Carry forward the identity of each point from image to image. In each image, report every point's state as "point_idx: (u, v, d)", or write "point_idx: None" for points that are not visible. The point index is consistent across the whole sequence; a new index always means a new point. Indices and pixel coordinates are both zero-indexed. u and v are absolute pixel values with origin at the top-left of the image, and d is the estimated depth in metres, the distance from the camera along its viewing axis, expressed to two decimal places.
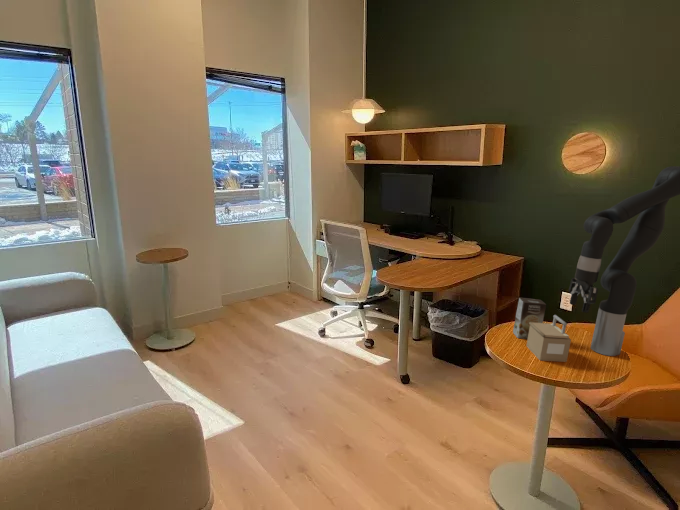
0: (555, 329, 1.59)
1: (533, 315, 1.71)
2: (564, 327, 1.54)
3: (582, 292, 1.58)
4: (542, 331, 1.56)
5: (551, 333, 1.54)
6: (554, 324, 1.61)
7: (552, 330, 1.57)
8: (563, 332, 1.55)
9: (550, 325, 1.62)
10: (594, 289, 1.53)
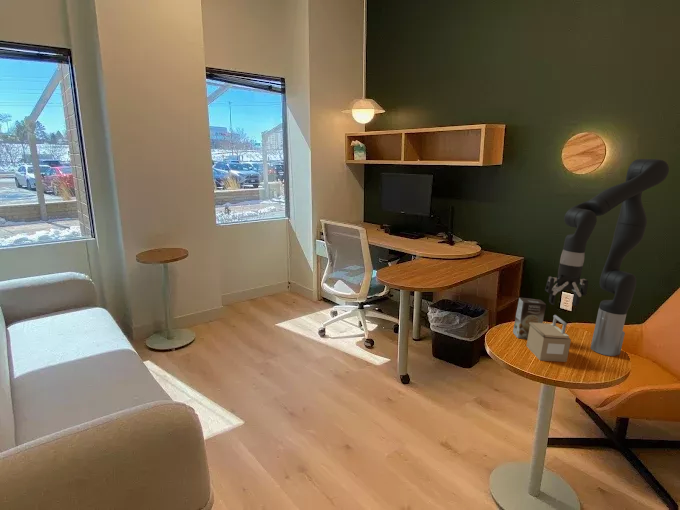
0: (555, 329, 1.59)
1: (533, 315, 1.71)
2: (564, 327, 1.54)
3: (576, 288, 1.53)
4: (542, 331, 1.56)
5: (551, 333, 1.54)
6: (554, 324, 1.61)
7: (552, 330, 1.57)
8: (563, 332, 1.55)
9: (550, 325, 1.62)
10: None
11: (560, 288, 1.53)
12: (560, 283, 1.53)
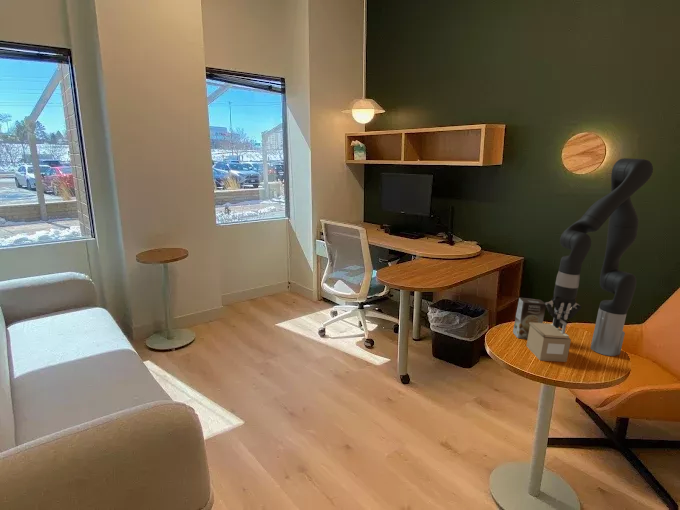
0: (555, 329, 1.59)
1: (533, 315, 1.71)
2: (564, 327, 1.54)
3: (568, 310, 1.55)
4: (542, 331, 1.56)
5: (551, 333, 1.54)
6: None
7: (552, 330, 1.57)
8: (563, 332, 1.55)
9: (550, 325, 1.62)
10: None
11: (560, 311, 1.55)
12: (557, 306, 1.55)
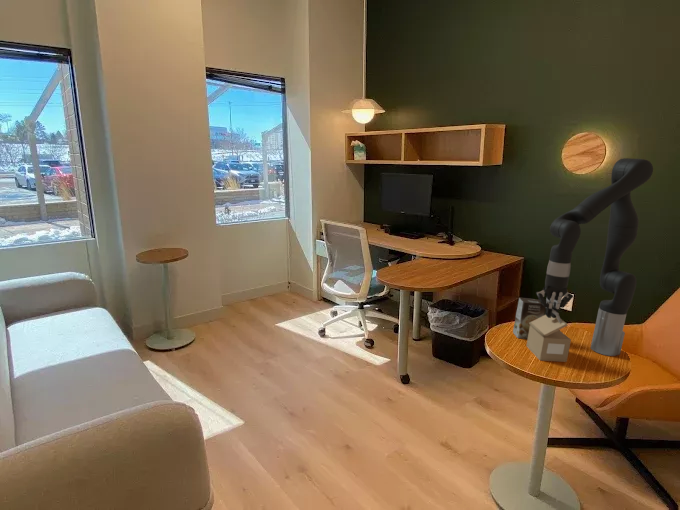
0: (553, 320, 1.58)
1: (533, 315, 1.71)
2: (558, 317, 1.53)
3: (559, 299, 1.54)
4: (541, 330, 1.56)
5: (550, 328, 1.54)
6: None
7: (550, 323, 1.57)
8: (560, 321, 1.54)
9: None
10: None
11: (552, 300, 1.54)
12: (549, 296, 1.54)
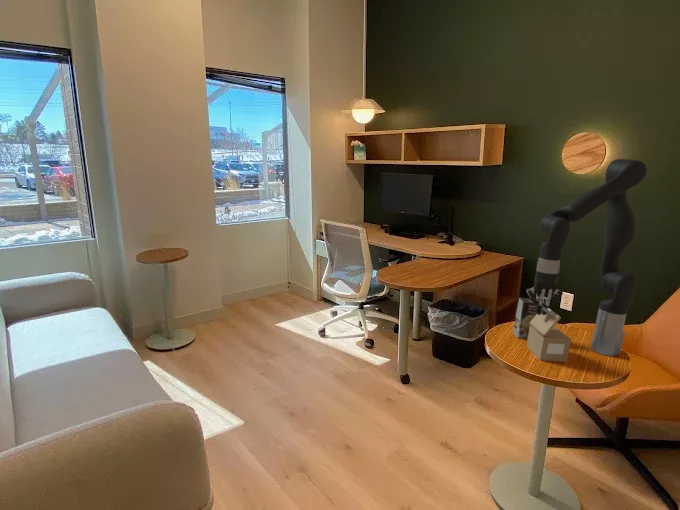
0: (548, 314, 1.57)
1: (533, 315, 1.71)
2: (549, 312, 1.53)
3: (549, 296, 1.54)
4: (540, 330, 1.56)
5: (547, 326, 1.54)
6: None
7: (546, 319, 1.56)
8: (553, 315, 1.53)
9: None
10: None
11: (541, 297, 1.54)
12: (538, 293, 1.54)
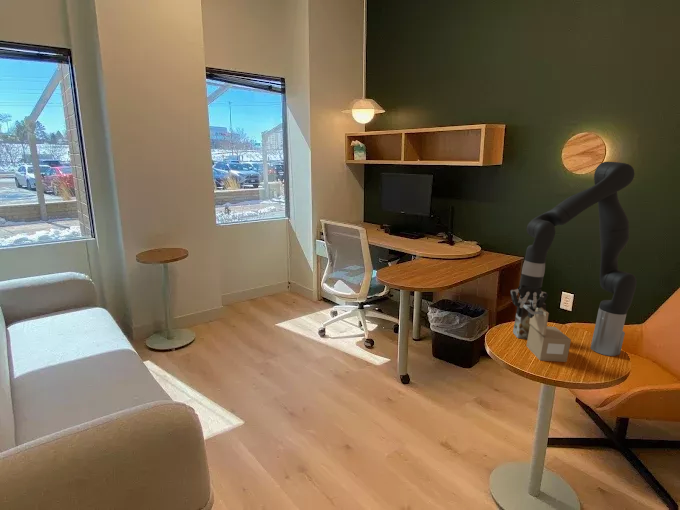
0: (538, 312, 1.57)
1: None
2: (536, 313, 1.53)
3: (535, 299, 1.54)
4: (539, 330, 1.56)
5: (542, 325, 1.54)
6: None
7: (539, 317, 1.56)
8: (541, 313, 1.53)
9: None
10: None
11: (524, 300, 1.54)
12: (522, 295, 1.55)
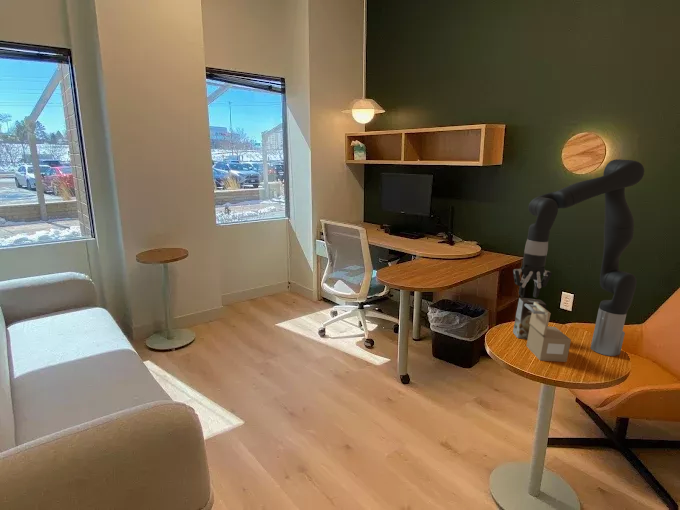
0: None
1: None
2: (538, 312, 1.53)
3: (538, 278, 1.52)
4: (539, 330, 1.56)
5: (543, 325, 1.54)
6: (534, 306, 1.60)
7: (540, 317, 1.56)
8: (543, 313, 1.53)
9: (535, 308, 1.61)
10: None
11: (527, 279, 1.52)
12: (525, 274, 1.53)
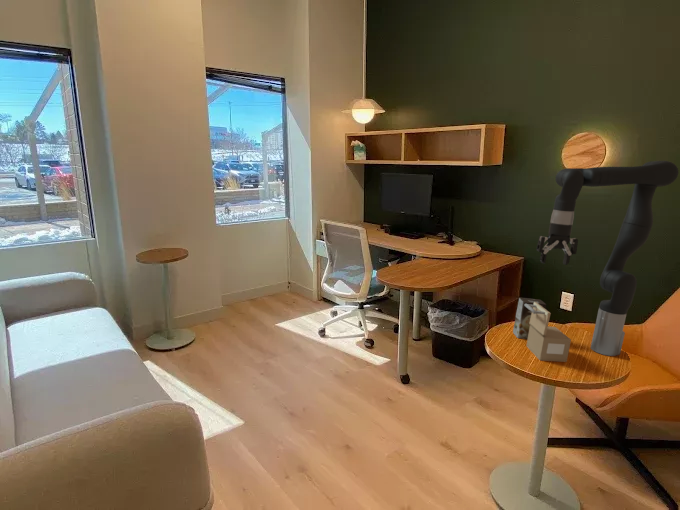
0: None
1: None
2: (538, 312, 1.53)
3: (566, 246, 1.57)
4: (539, 330, 1.56)
5: (543, 325, 1.54)
6: (534, 306, 1.60)
7: (540, 317, 1.56)
8: (543, 313, 1.53)
9: (535, 308, 1.61)
10: None
11: (551, 247, 1.58)
12: (551, 242, 1.58)
